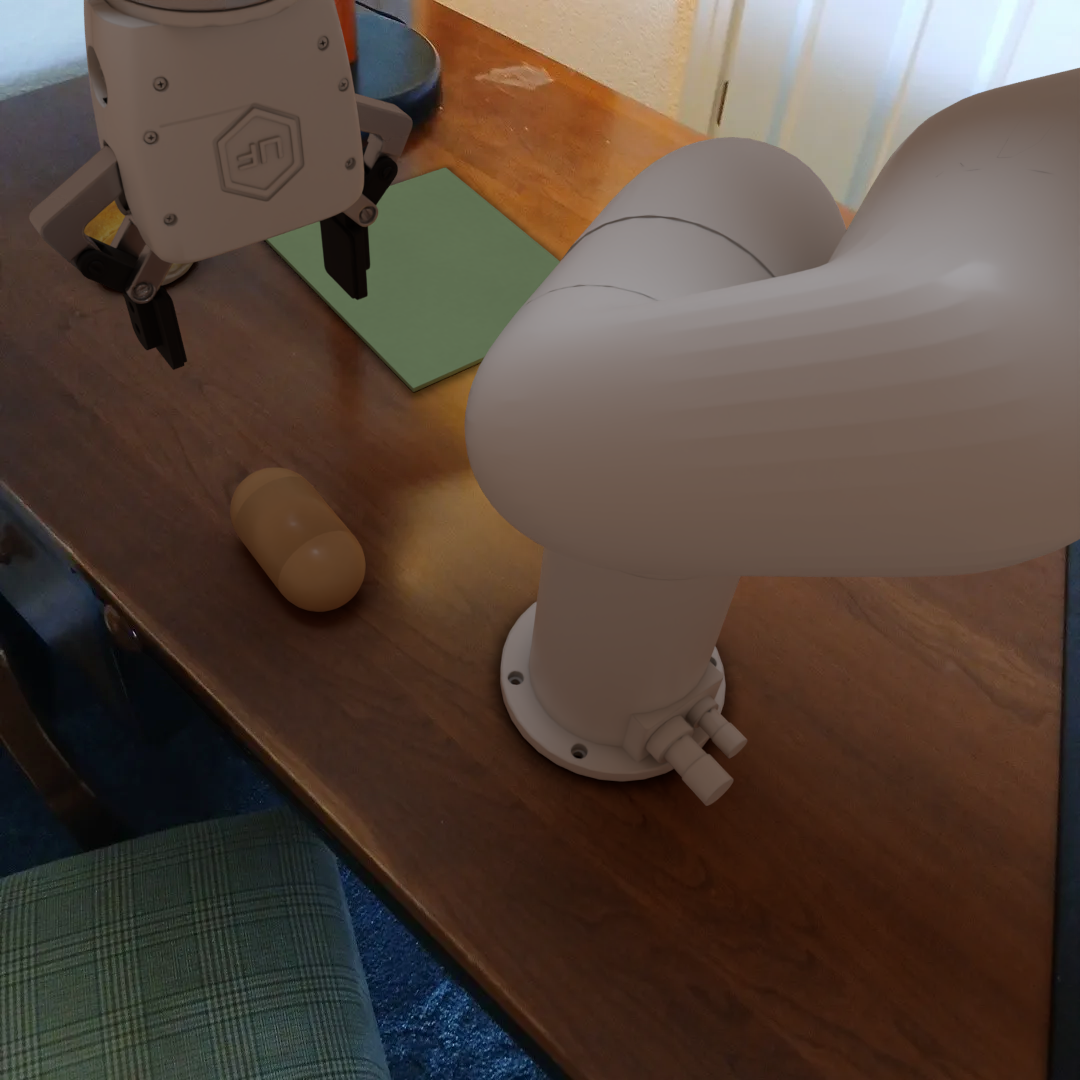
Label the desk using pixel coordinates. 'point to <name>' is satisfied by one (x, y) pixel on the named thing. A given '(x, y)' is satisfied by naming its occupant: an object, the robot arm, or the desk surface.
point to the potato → (297, 539)
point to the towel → (429, 277)
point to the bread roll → (107, 228)
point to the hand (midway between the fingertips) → (260, 316)
